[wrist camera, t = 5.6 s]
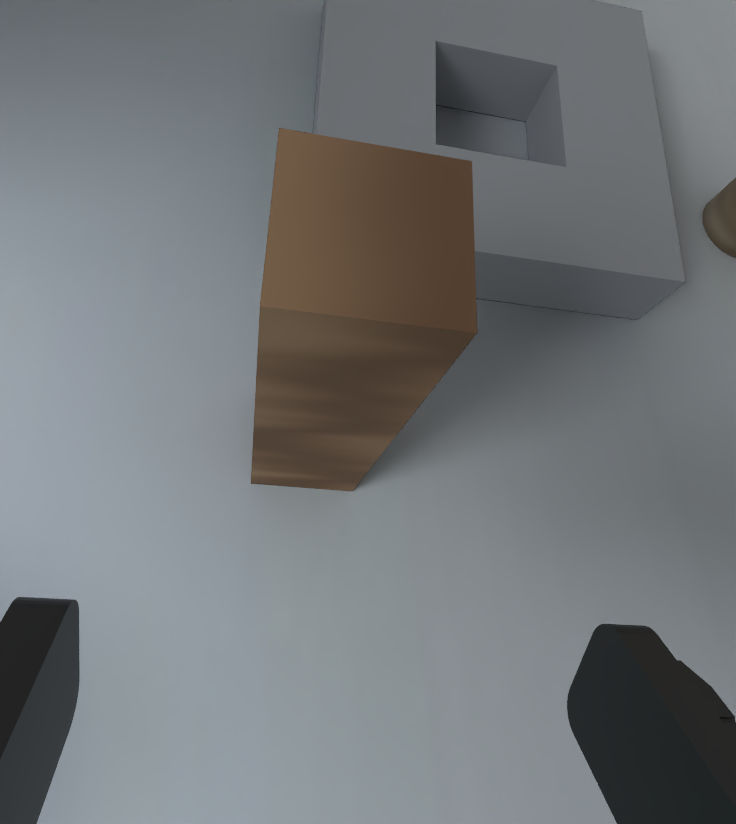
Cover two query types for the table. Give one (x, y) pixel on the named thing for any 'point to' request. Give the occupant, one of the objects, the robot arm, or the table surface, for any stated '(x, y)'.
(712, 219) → the beech dowel
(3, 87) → the table surface
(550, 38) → the bore plate
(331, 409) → the walnut bar
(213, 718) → the table surface
